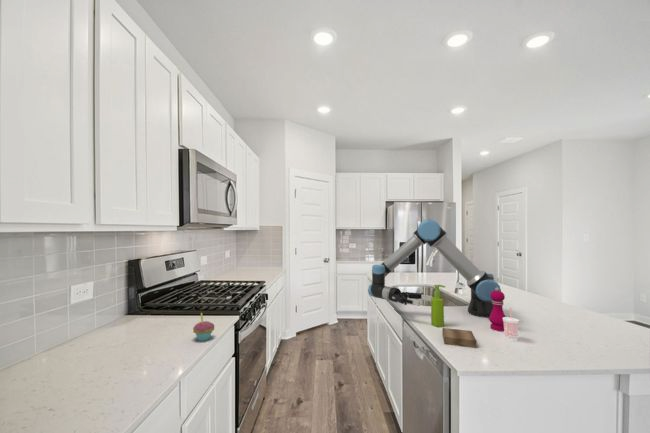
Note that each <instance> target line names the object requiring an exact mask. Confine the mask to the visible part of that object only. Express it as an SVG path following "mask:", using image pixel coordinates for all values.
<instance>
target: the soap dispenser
mask: <svg viewBox="0 0 650 433" xmlns="http://www.w3.org/2000/svg"><path fill="white" fill-rule="evenodd" d="M433 287H434V290H433V298H431V301H430V310H431V311H430V316H431V317H430V318H431V319H430V322H431V324H430V325H431V326H432V325H433V326H432V327H435V326H436V328H444V326H445V319H444V318H445V316H444V314H445V313H444V312H445V310H444V309H445V308H444V298H442V295H441V294H442V292H441V291H440V288H443V289H445V288H446V285H441V284H433Z"/></svg>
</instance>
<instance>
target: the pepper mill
mask: <svg viewBox="0 0 650 433" xmlns="http://www.w3.org/2000/svg"><path fill="white" fill-rule="evenodd" d="M495 290H496V291H492V292H491V294H490V297H491V298H492V304H493V309H492V312H491V314H490V317H488V319H489V322H490V329H491V328H492V329H491V330H493V329H494V330H493V331H495V330H497V331H496V332H504V322H503V317H506V315H505V313H504V310H503V305H504V300H505V294H504V292H503V291H502V290H501V291H499V288H498V287H497V288H495Z"/></svg>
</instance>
